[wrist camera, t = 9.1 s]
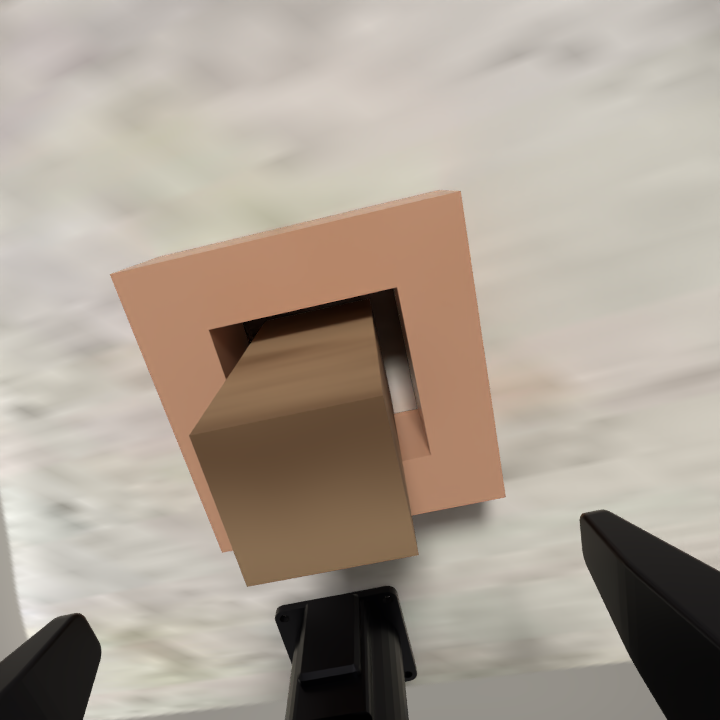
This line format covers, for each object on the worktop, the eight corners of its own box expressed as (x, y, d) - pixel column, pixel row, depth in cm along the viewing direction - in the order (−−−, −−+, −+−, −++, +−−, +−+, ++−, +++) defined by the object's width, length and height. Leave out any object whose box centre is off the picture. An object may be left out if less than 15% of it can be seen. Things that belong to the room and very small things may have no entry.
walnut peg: (390, 394, 22) (418, 554, 12) (293, 414, 22) (247, 586, 12) (369, 298, 20) (383, 395, 11) (265, 320, 20) (189, 435, 11)
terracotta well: (480, 445, 22) (505, 497, 19) (243, 493, 23) (222, 552, 19) (439, 190, 19) (460, 190, 15) (157, 257, 19) (109, 274, 16)
